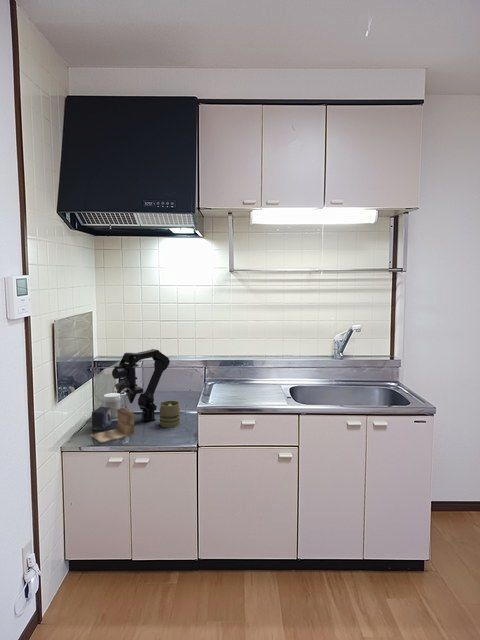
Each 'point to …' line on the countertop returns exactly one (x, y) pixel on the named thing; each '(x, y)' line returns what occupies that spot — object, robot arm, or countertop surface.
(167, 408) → the piston
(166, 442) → the countertop surface
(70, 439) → the countertop surface
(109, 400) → the supplement tub
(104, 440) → the cutting board
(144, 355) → the robot arm
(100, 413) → the small box
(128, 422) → the brown rectangular block
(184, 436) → the countertop surface
